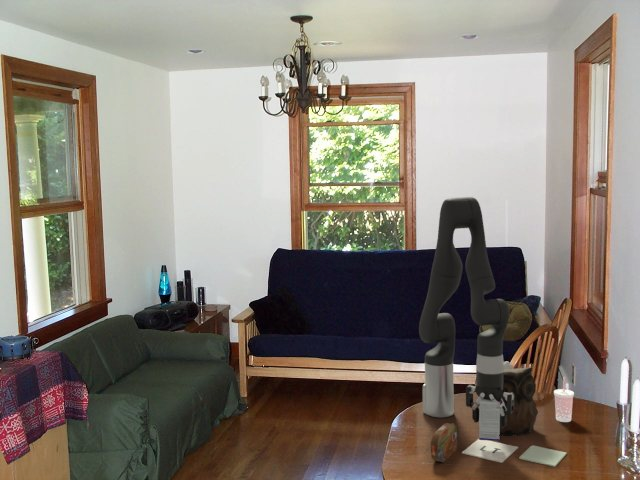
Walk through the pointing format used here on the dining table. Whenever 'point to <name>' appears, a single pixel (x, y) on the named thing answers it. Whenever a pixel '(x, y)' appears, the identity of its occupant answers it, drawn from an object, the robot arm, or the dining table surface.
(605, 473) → the dining table surface
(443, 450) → the tin
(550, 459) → the sage mat
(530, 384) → the owl
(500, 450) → the tile
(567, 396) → the beverage cup
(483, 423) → the supplement box
